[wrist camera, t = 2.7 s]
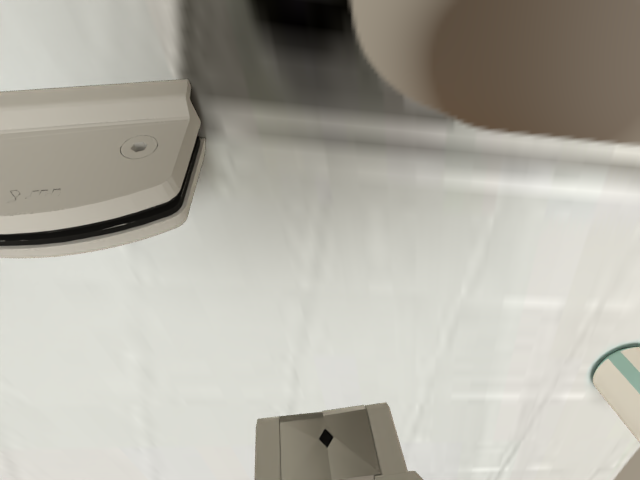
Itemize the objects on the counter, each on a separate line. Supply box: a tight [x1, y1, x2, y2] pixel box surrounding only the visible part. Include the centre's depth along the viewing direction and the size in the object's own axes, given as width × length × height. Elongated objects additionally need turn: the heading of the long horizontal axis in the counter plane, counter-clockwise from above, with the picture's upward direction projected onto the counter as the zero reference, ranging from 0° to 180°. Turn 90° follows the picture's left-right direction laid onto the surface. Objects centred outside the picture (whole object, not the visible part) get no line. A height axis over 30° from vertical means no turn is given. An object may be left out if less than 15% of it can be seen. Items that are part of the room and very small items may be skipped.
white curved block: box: [0, 79, 205, 258], centre depth 26 cm, size 17×5×10 cm, turn 93°
